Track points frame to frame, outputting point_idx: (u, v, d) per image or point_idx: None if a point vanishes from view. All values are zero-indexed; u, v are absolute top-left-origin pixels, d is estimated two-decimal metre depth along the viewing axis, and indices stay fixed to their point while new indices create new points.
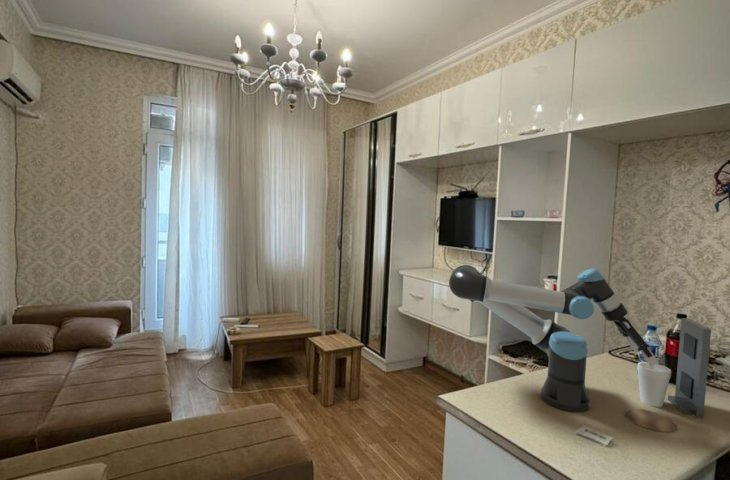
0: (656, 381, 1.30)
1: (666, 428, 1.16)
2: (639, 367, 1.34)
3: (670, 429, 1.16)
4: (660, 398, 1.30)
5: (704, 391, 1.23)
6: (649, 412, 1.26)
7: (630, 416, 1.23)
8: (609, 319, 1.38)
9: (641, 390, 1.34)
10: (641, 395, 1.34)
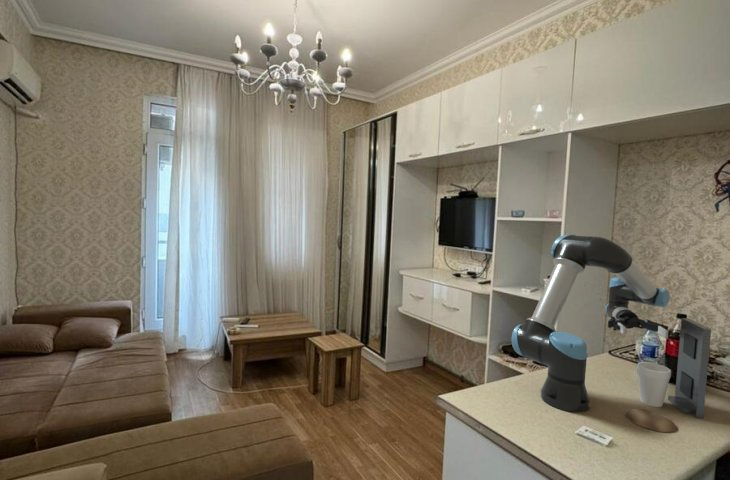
0: (656, 381, 1.30)
1: (666, 428, 1.16)
2: (639, 367, 1.34)
3: (670, 429, 1.16)
4: (660, 398, 1.30)
5: (704, 391, 1.23)
6: (649, 412, 1.26)
7: (630, 416, 1.23)
8: None
9: (641, 390, 1.34)
10: (641, 395, 1.34)
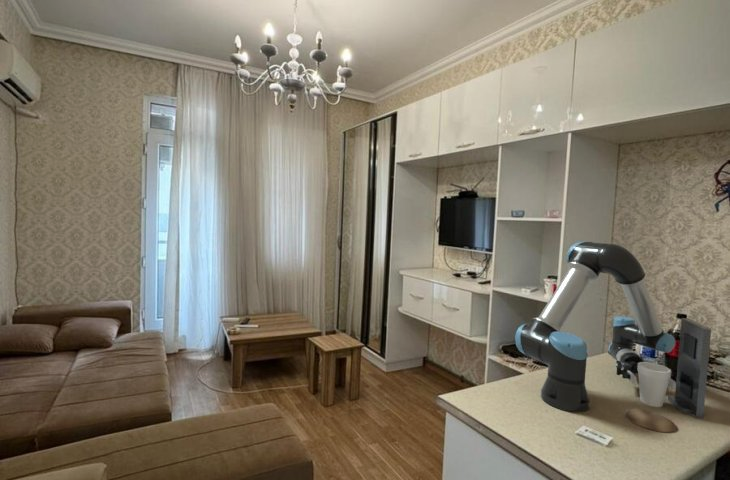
0: (656, 381, 1.30)
1: (666, 428, 1.16)
2: (639, 367, 1.34)
3: (670, 429, 1.16)
4: (660, 398, 1.30)
5: (704, 391, 1.23)
6: (649, 412, 1.26)
7: (630, 416, 1.23)
8: None
9: (641, 390, 1.34)
10: (641, 395, 1.34)
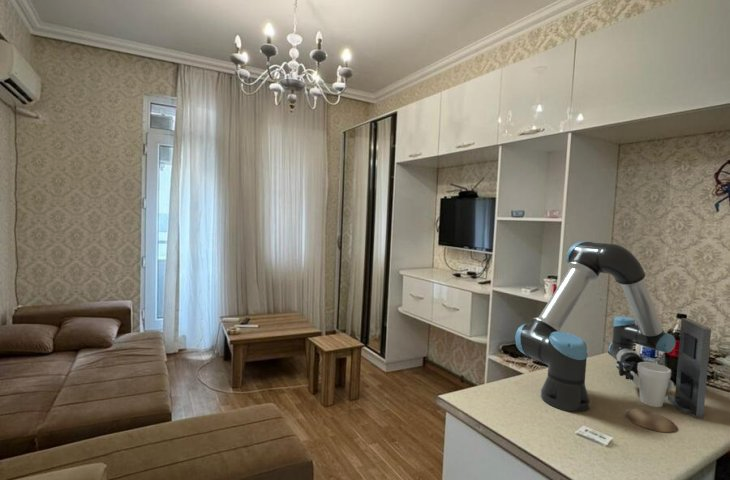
0: (656, 381, 1.30)
1: (666, 428, 1.16)
2: (639, 367, 1.34)
3: (670, 429, 1.16)
4: (660, 398, 1.30)
5: (704, 391, 1.23)
6: (649, 412, 1.26)
7: (630, 416, 1.23)
8: (639, 356, 1.50)
9: (641, 390, 1.34)
10: (641, 395, 1.34)
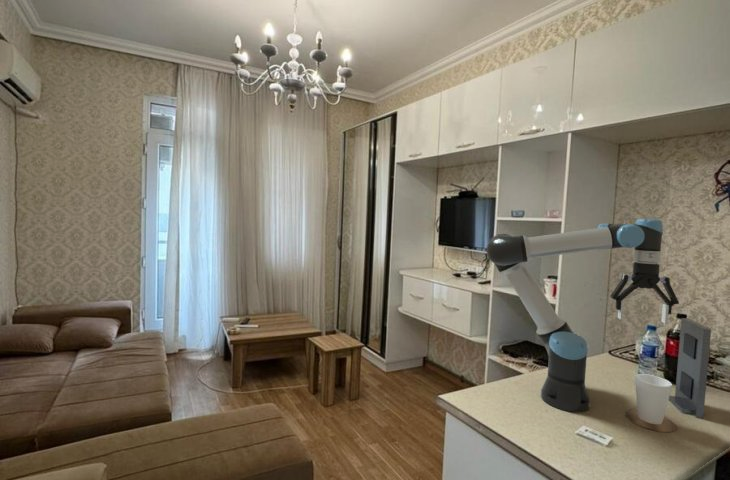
0: (655, 396, 1.17)
1: (666, 428, 1.16)
2: (637, 380, 1.22)
3: (670, 429, 1.16)
4: (659, 414, 1.18)
5: (704, 391, 1.23)
6: None
7: (630, 416, 1.23)
8: None
9: (639, 405, 1.22)
10: (639, 411, 1.22)
